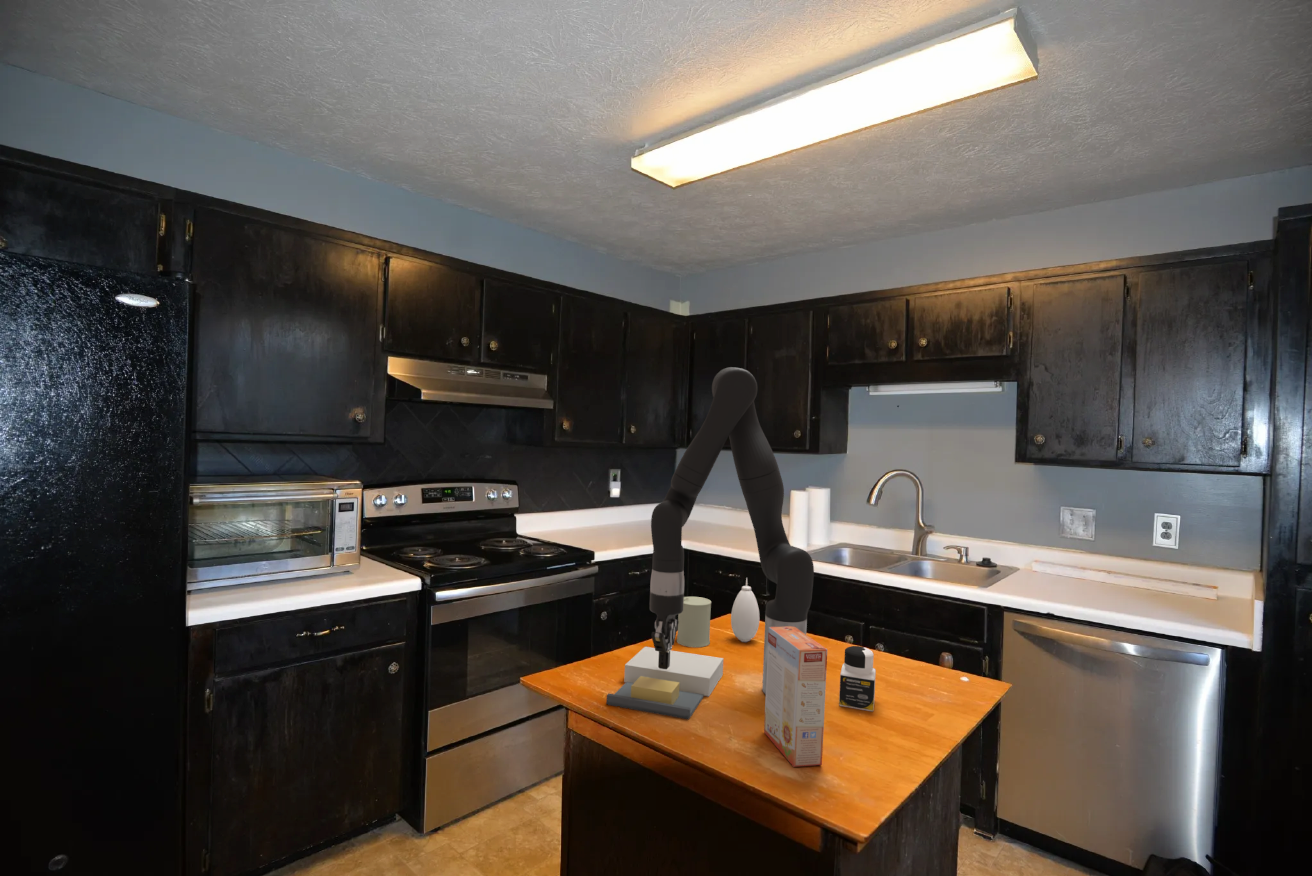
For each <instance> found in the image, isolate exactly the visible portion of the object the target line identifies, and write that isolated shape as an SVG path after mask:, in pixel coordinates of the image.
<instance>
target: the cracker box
mask: <svg viewBox="0 0 1312 876" xmlns="http://www.w3.org/2000/svg"><path fill="white" fill-rule="evenodd" d="M827 665H828V648H826V647H825V646H823V645H822V644H820V643H819V642H817V641H816V640H815V639H813V638H812V637H810V636H808V635H807V633H806V634H804V633H803V632H801V631H800V630H799V629H797V628H796V627H792V626H786V627H769V633H768V656H767V677H766V694H765V702H764V703H765V704H764V721H763V723H764V725H763V732H764V733H763V734H765V735H766V736H767V737H768V738H769V740H770V741H771V742H772V744H773V745H774V746H775V747H776V749H778V751H779V752H780V753H781V755H783V757H784V758H786V760H787V761H788V762H789V763H790V765H791V766H792V767H793V768H796V767H811V766H813V767H814V766H822V765H823V751H824V750H823V748H824V731H825V728H824V727H825V711H826V710H825V708H826V707H825V706H826V704H825V703H826V686H827V685H826V684H827V667H828V666H827Z"/></svg>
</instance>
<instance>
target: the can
mask: <svg viewBox="0 0 1312 876" xmlns="http://www.w3.org/2000/svg"><path fill="white" fill-rule="evenodd" d="M711 608H712V601H711V600H710V599H708V598H705V597H699V596H684V603H683V612H682V613H680V614H677V615H678V616H677V617H678V618H677V620H678V621H679V624H678V627H677V634H676V642H677V644H678V645H681V646H683V647H688V648H703V647H707V646H709V645H710V643H711V641H710V635H711V634H710V633H711V631H710V630H711V629H710V628H711Z"/></svg>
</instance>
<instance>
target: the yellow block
mask: <svg viewBox="0 0 1312 876" xmlns="http://www.w3.org/2000/svg"><path fill="white" fill-rule="evenodd" d="M679 686H680V682H673V681H667V680H661V679H655V678H649V677H643V676H640V677H639V678H638V679H637V680H636V681H635V683H634V684H633V685H632V686H631V697H632V698H638V699H644V700H649V701H655V702H661V703H666V704H672V705H673V704H674V703H675V701H676V700H677V698H678V697H679Z"/></svg>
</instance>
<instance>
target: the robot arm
mask: <svg viewBox="0 0 1312 876" xmlns="http://www.w3.org/2000/svg"><path fill="white" fill-rule="evenodd" d="M711 392H712V397H713V398H712V401H711V405H710V408H709V410H708V413H707V415H706V418H705V420H704V421H703V423H702V425H701V427H700V429H699V430H698V431H697V433H696V434H695V436H694V438H693V439H692V441H691V442H690V443H689V444H688V447H687V448H686V449H685V452H684V453H683V456H682V457H681V459H680V460H679V462H678V465H677V467H676V468H675V470H674V473H673V475H672V477H671V480H670V487H669V489H668V490H667V493H666V495H665V497H664V499H663V501H661V502H659V503H658V504H657V505H655V507H654V509H653V510H652V513H651V517H650V518H651V519H650V529H651V530H650V531H651V541H652V547H653V548H652V549H653V550H652V569H651V575H650V585H649V586H650V588H649V590H650V591H649V611H650V612H652V613H653V614H654V615H656V620H655V621H654V629H655V631H652V632H651V635H650V636H651V640H652V643H653V648H655V651H659V662H658V667H659V668H660V669H668V667H669V666H670V651H672V649H673V646H674V645H675V641H676V638H677V633H678V624H679V621H678V619H676V616H677V615H678V614H680V613H682V612H683V603H684V597H685V575H684V574H685V572H684V570H685V568H684V567H685V549H684V546H683V545H682V540H683V539H682V538H683V536H682V535H683V534H682V533H683V527H684V526H685V525H686V524H687V521H688V519H689V518H690V516H691V513H692V511H693V509H694V506H695V504H696V502H697V498H698V495H699V494H700V492H701V491H702V490H703V488H704V485H705V483H706V482H707V479H708V477H709V475H710V473H711V472H712V469H713V467H714V466H715V463H716V461H717V459H718V457H719V455H720V454H721V452H722V449H723V447H724V445H725V444H726V442H727V440H728V438H729V442H730V443H729V444H730V448H731V453H732V457H733V462H734V467H735V470H736V474H737V478H738V482H739V485H740V489H741V493H742V495H743V498H744V500H745V504H746V508H747V510H748V515H749V517H750V521H751V524H752V527H753V530H754V535H755V541H756V545H757V551H758V557H759V561H760V565H761V570H762V572H763V574H764V576H765V577H766V579H768V580H769V581H770V582H772V583H775V584H776V590H775V598H774V599H770V600H768V601H767V602H766V604H765V619H764V620H765V621H764V638H763V639H764V642H763V664H762V665H763V666H762V683H761V684H762V692H763V694H765V695H766V677H767V656H768V633H769V627H786V626H792V627H796V628H797V629H799V630H800V631H801V632H803V633H804V634H806V635H807V630H808V629H807V628H808V627H807V626H808V625H807V624H808V613H809V610H810V608H811V606H812V605H811V604H812V599H813V589H814V588H813V587H814V575H815V567H814V561H813V558H812V557H811V555H810V553H809V552H808V551H806V550H804V549H802V548H799V547H796V546H794V545H791V544H790V541H789V539H788V536H787V534H786V530H785V528H784V524H783V518H782V517H783V515H782V512H783V505H784V498H785V489H784V488H785V487H784V482H783V479H782V475H781V471H780V467H779V465H778V461H777V460H776V457H775V454H774V451H773V449H772V447H771V444H770V443H769V441H768V439H767V437H766V435H765V433H764V431H763V429H762V427H761V424H760V422H759V418H758V415H757V409H756V405H755V400H756V397H757V394H758V382H757V380H756V378H755V376H754V375H753V374H752V373H751V372H750V371H749V370H747V369H744V368H742V367H741V368H740V367H732V366H730V367H726V368H723V369H721V370H720V371H719V372H718V373H716V374H715V376H714V378H713V380H712V384H711Z"/></svg>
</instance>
